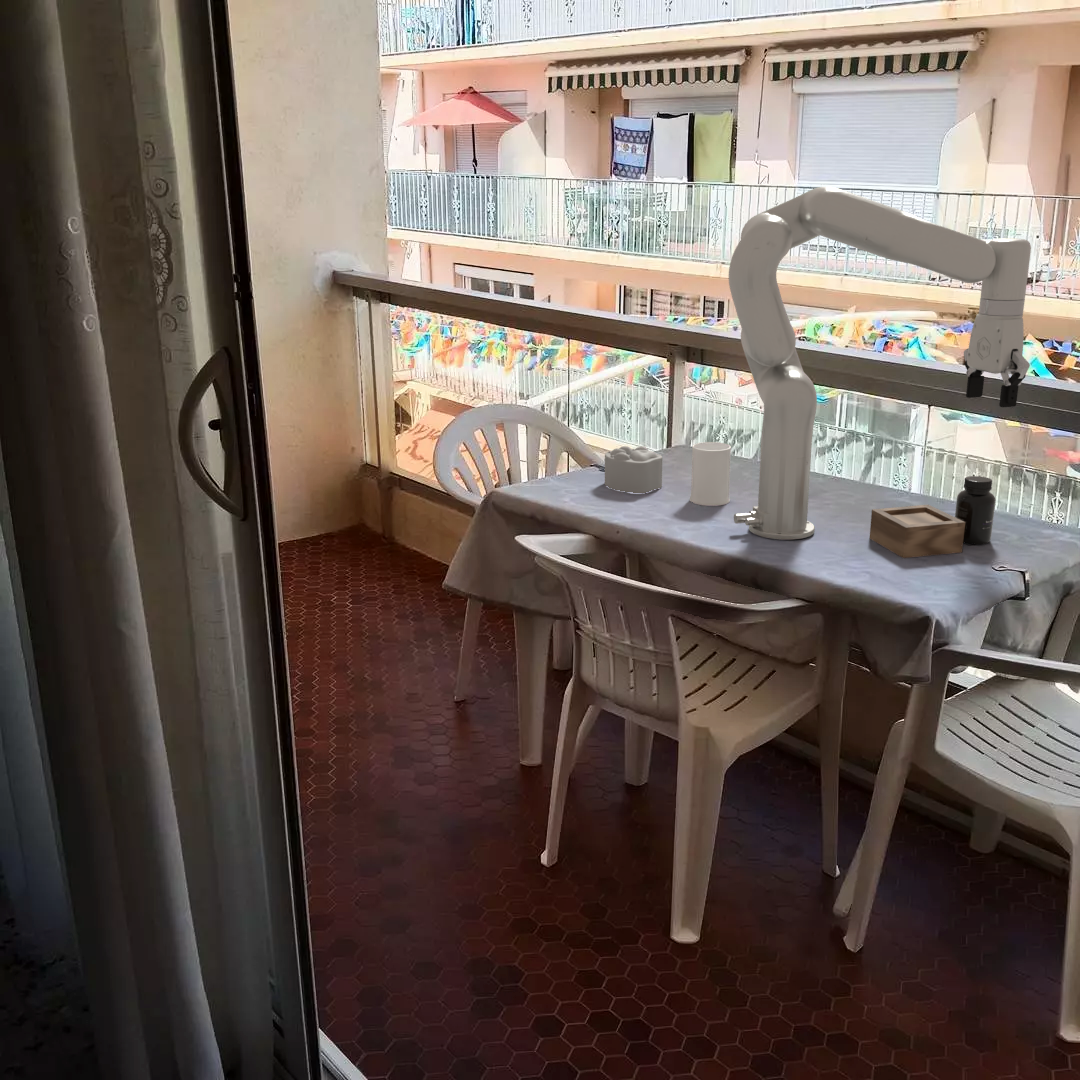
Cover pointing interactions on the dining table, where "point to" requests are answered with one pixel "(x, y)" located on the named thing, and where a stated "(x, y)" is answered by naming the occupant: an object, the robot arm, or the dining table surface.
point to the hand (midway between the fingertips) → (990, 401)
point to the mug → (710, 474)
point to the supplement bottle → (976, 509)
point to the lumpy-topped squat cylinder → (633, 469)
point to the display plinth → (917, 531)
